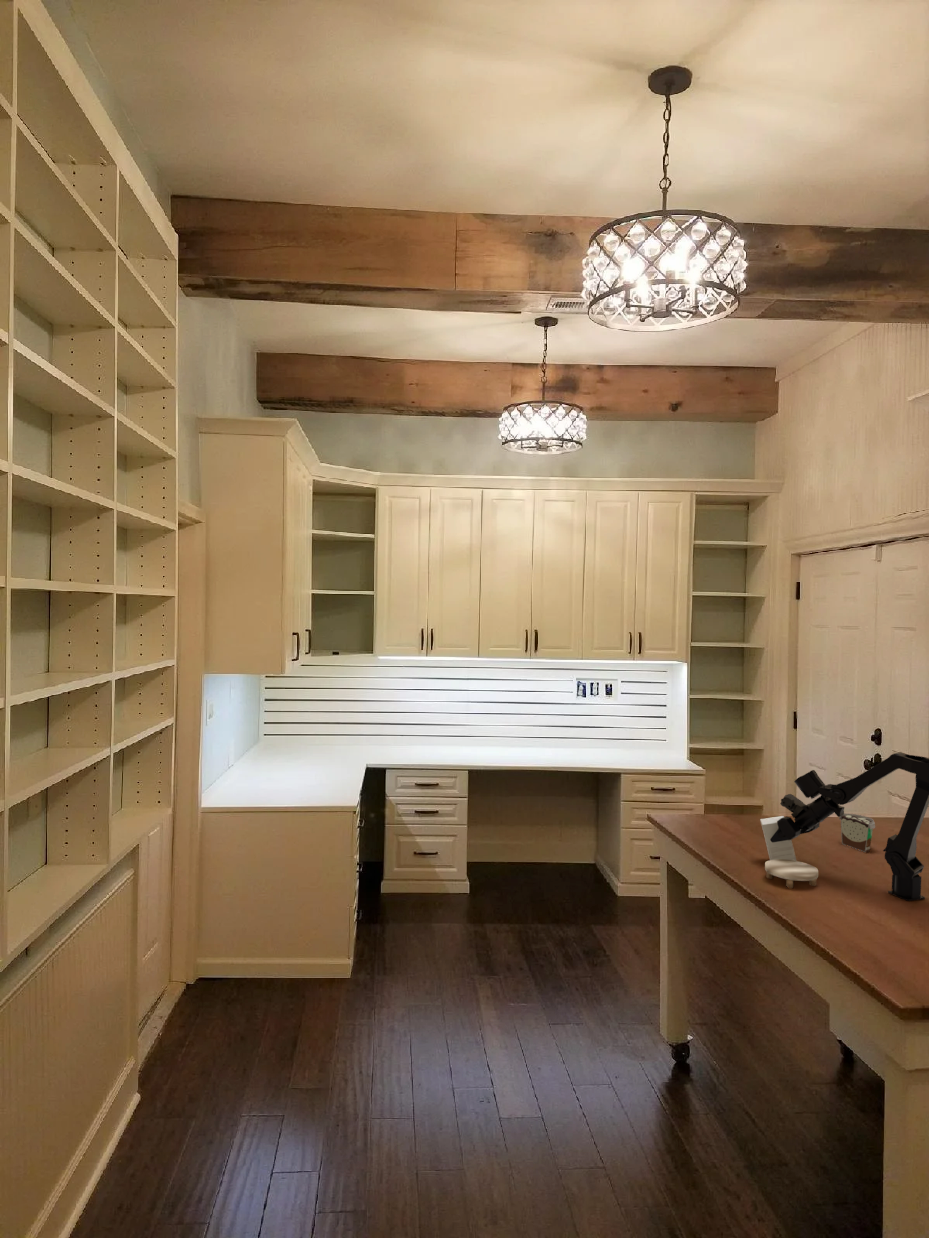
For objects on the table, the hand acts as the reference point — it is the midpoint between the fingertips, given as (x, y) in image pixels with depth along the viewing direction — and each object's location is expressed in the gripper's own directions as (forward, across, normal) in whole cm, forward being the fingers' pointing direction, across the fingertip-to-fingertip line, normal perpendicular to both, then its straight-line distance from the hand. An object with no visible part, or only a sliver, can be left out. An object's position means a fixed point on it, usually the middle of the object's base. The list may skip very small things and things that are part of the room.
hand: (777, 838), depth 240 cm
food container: (-3, -38, +13) cm, 41 cm away
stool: (-2, +13, +12) cm, 18 cm away
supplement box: (+4, -1, +6) cm, 7 cm away
